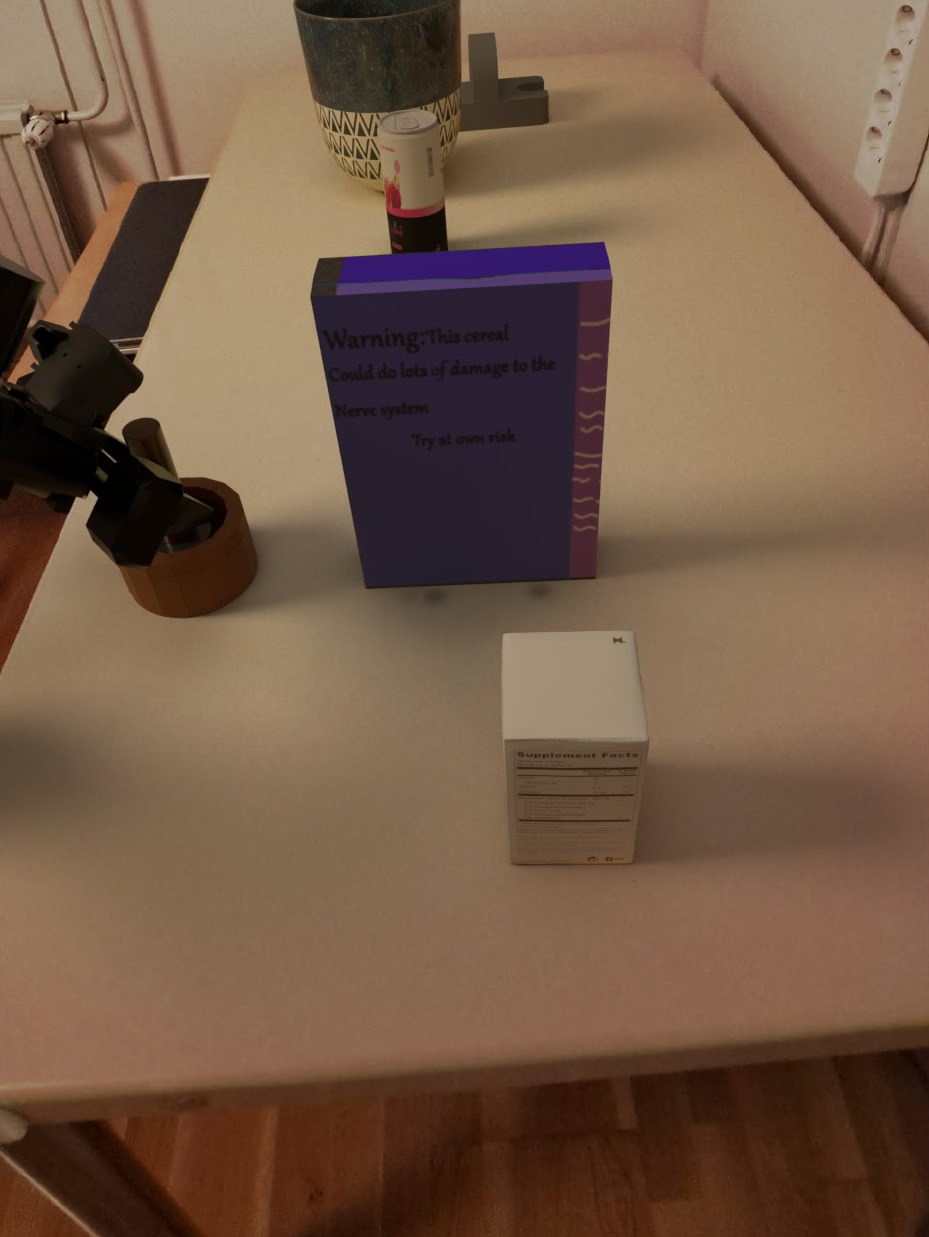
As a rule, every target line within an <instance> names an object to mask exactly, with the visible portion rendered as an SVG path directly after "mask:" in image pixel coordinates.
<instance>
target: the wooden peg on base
mask: <svg viewBox="0 0 929 1237" xmlns="http://www.w3.org/2000/svg"><path fill="white" fill-rule="evenodd" d="M121 436H122V438H123V441H124V442H125V443H126V445H127V448H128V451H129V453H130V455H135V456H139V457H142V458H145V459H147V460H150V458H151V457H153V458H154V459H155V460H156V461H157V462H159V463H160V464H161V465H162V466H163V467H165V468H166V469H167V470H168V471H169V472H170V473H171V474H172V476H173V477H175V478H176V479H177V480H178V481H179V482H180V479H179V478H180V476H179V473H178V471H177V468H176V465H175V462H174V459H173V457H172V454H171V451H170V448H169V446H168V443H167V440H166V436H165V434H164V430H163V429H162V425H161V422H160V421H159V420H158V419H156V418H154V417H147V416H146V417H139V418H135V419H133V420H131V421H129V422H127V423H126V424H125V425H124V426H123V427H122V429H121ZM180 483H181V482H180ZM183 493H184V491H183ZM213 535H214V532H213V529H212V526H211V523H210V522H209V523H207V524H203V525H200V526H197V527H194V528H191V529H188V530H184V531H181V532H178V533H175V534H172V535H169V536H166V537H164V539H163V541H162V543H161V545H160V547H159V549H158V551H157V553H156V554H168V553H175V552H179V551H183V550H186V549H190V548H193V547H195V546H197V545H199V544H200V543H202V542H204V541H206V540H207V539H209V538H211V537H212V536H213Z"/></svg>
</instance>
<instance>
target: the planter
mask: <svg viewBox="0 0 929 1237" xmlns="http://www.w3.org/2000/svg"><path fill="white" fill-rule="evenodd" d="M292 6H293V13H294V17H295V23H296V28H297V32H298V37H299V42H300V45H301V50H302V55H303V59H304V60H303V61H304V64H305V69H306V74H307V79H308V84H309V88H310V93H311V98H312V102H313V107H314V110H315V115H316V120H317V124H318V127H319V130H320V133H321V136H322V139H323V141H324V143H325V146H326V148H327V151H328V152H329V154H330V156H331V158H332V160H334V162H335V164H336V165H337V166H338V167H339V168H340V169H341V170H342V171H343V172H344V173H345V174H346V175H347V176H348V177H350V178H351V180H353V181H355V182H356V183H358V184H360V185H362V186H363V187H364V188H365V187H366V188H368V189H370V190H374V191H377V192H384V185H383V176H382V168H381V159H380V151H379V142H378V134H377V128H378V127H379V126H378V120H379V119H380V118H381V117H383V116H384V115H386V114H389V113H392V112H396V111H401V110H411V109H417V110H426V111H429V112H432V113H434V114H435V115H436V116H437V122H438V123H439V129H440V143H441V157H442V168H443V167H444V166H445V165H446V163H447V162H448V161H449V158H450V157H451V155H452V153H453V151H454V149H455V146H456V144H457V140H458V135H459V132H460V131H459V126H460V119H461V82H462V0H293V2H292Z"/></svg>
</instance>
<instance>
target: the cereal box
mask: <svg viewBox="0 0 929 1237" xmlns="http://www.w3.org/2000/svg"><path fill="white" fill-rule="evenodd" d="M613 283H614V279H613V273H612V266H611V262H610V257H609V255H608V251H607V247H606V243H605V241H593V242H591V241H590V242H576V243H575V242H574V243H558V244H556V243H555V244H541V245H525V246H524V245H523V246H506V247H505V246H504V247H489V248H488V247H487V248H472V249H471V248H470V249H456V250H454V249H453V250H448V251H435V252H418V253H401V254H392V253H386V254H366V255H352V256H351V255H350V256H335V257H318V259H317V263H316V267H315V270H314V273H313V276H312V282H311V288H310V290H311V291H310V294H309V295H310V297H309V299H310V304H311V308H312V314H313V318H314V319H313V320H314V325H315V331H316V335H317V340H318V345H319V350H320V357H321V362H322V366H323V371H324V372H323V373H324V377H325V382H326V387H327V394H328V398H329V404H330V408H331V414H332V420H333V424H334V429H335V433H336V440H337V444H338V450H339V457H340V462H341V466H342V472H343V477H344V483H345V487H346V492H347V498H348V503H349V508H350V513H351V520H352V524H353V529H354V534H355V540H356V544H357V550H358V555H359V560H360V566H361V571H362V577H363V581H364V587H365V589H386V588H387V589H388V588H409V587H411V588H413V587H435V586H456V585H459V586H460V585H480V584H482V585H483V584H502V583H504V584H505V583H527V582H549V581H550V582H551V581H573V580H575V581H576V580H595V579H596V574H597V573H596V572H597V555H598V553H597V552H598V540H599V539H598V538H599V524H600V522H599V521H600V504H601V489H602V488H601V486H602V469H603V456H604V454H603V453H604V437H605V420H606V401H607V387H608V370H609V354H610V353H609V352H610V336H611V335H610V333H611V317H612V302H613V301H612V300H613V285H614V284H613Z"/></svg>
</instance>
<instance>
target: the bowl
mask: <svg viewBox="0 0 929 1237" xmlns="http://www.w3.org/2000/svg"><path fill="white" fill-rule="evenodd" d="M179 479H180V482H181V483H182V484H183V491H184V493H185V494H187V495H189V496H191V497H193V498H195V499H197V500H199V501H201V502H203V503H204V504H206V505H208V506H210V507H212V508H213V509H214V514H213V516H212V518H211V520H210V523H211V526H212V529H213V532H214V535H213V536H212V537H211V538H209V539H207V540H206V541H204V542H202V543H200V544H199V545H197V546H195V547H193V548H190V549H186V550H183V551H179V552H175V553H168V554H156V555H155V558H154V560H153V562H152V564H151V566H150V567H149V568H146V569H144V570H138V569H132V568H127V567H122V566H117V567H118V569H119V572H120V574H121V577H122V578H123V580H124V583H125V585H126V588H127V590H128V592H129V593H130V594H131V595H132V597H133V599H134V600H135V602H136V603H137V604H138V605H139V606H140V607H141V608H142V609H144V610H146V611H147V612H149V613H152V614H154V615H158V616H160V617H166V618H190V617H191V618H192V617H196V616H201V615H205V614H208V613H211V612H214V611H217V610H218V609H221V608H223V607H226V605H229V604H230V603H231V602H233V601H235V600H236V599H237V598H238V597H240V596H241V595H242V594H243V593H244V592H245V591H246V590H247V589H248V588H249V586H250V585H251V584H252V582H253V581H254V579H255V577H256V575H257V572H258V566H259V558H258V553H257V550H256V546H255V543H254V539H253V535H252V532H251V528H250V525H249V523H248V519H247V515H246V512H245V509H244V506H243V503H242V500H241V496H240V494H239V493H238V492H237V491H236V490H235V489H233V488H232V487H231V486H229V485H228V484H227V483H225V482H223V481H219V480H217V479H212V478H209V477H203V476H195V477H194V476H193V477H191V476H188V477H187V476H186V477H185V476H184V477H179Z"/></svg>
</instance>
